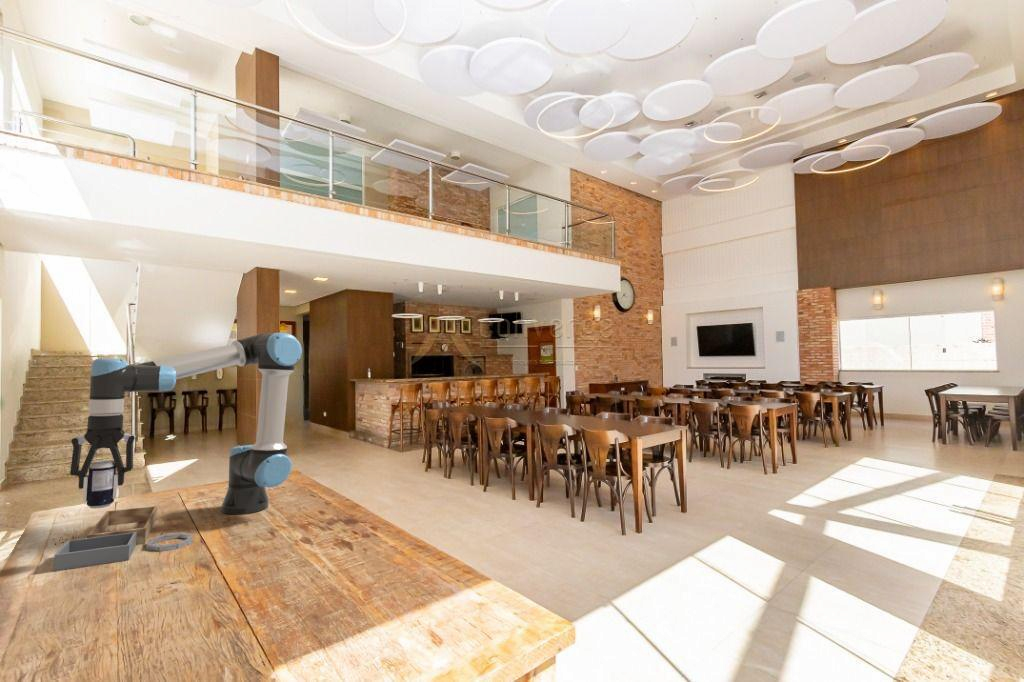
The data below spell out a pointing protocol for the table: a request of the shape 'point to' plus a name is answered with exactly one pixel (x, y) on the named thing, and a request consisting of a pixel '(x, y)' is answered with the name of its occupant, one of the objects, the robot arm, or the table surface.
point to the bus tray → (95, 551)
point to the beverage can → (101, 484)
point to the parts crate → (127, 517)
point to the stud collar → (155, 547)
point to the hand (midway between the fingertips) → (100, 498)
